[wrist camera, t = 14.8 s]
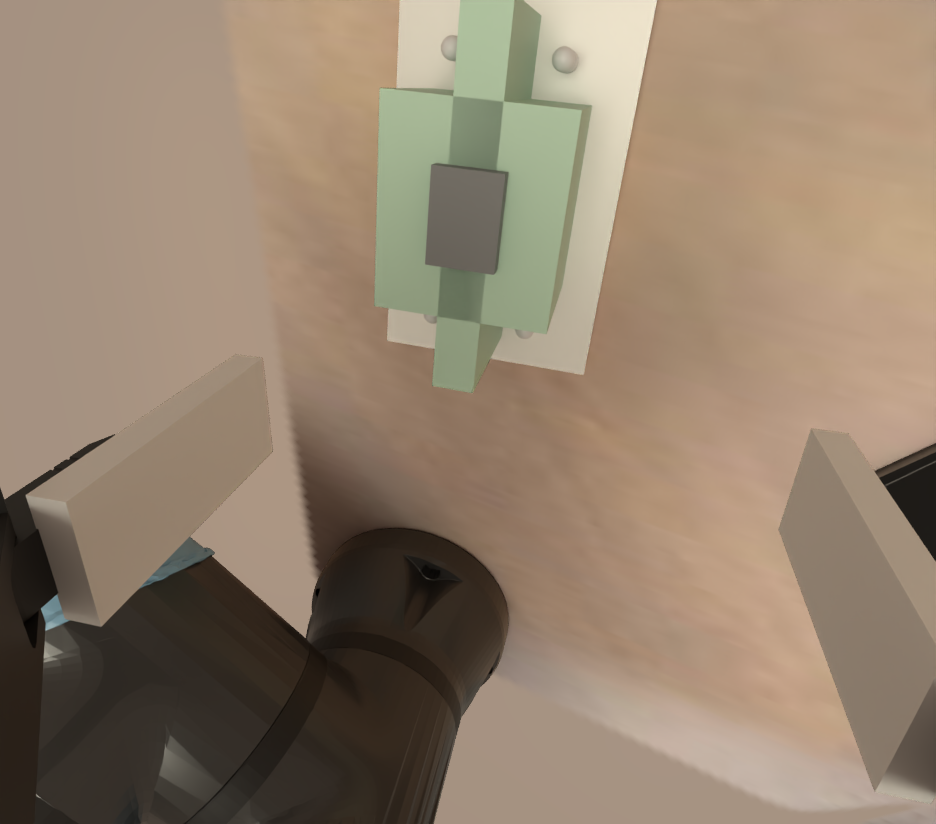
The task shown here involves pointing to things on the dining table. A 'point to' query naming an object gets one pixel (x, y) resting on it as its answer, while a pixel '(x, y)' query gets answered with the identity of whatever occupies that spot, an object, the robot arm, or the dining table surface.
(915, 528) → the phone
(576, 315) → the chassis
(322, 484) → the dining table surface
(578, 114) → the green stepped block
